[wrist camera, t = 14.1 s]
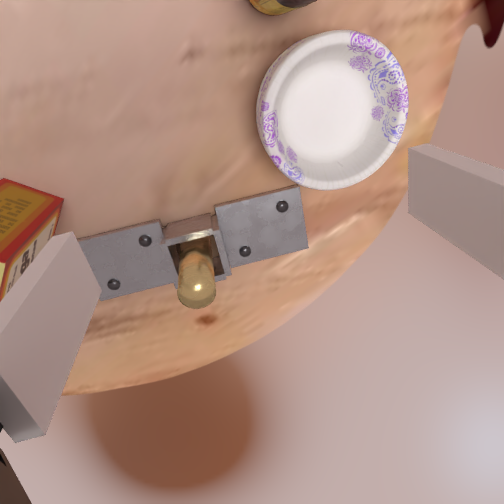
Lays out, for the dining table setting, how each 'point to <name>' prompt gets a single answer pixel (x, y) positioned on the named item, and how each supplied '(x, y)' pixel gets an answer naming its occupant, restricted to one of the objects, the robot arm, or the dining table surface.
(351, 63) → the paper bowls
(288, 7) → the sauce bottle
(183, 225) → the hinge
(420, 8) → the dining table surface
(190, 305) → the hinge pin
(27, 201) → the baking soda box
